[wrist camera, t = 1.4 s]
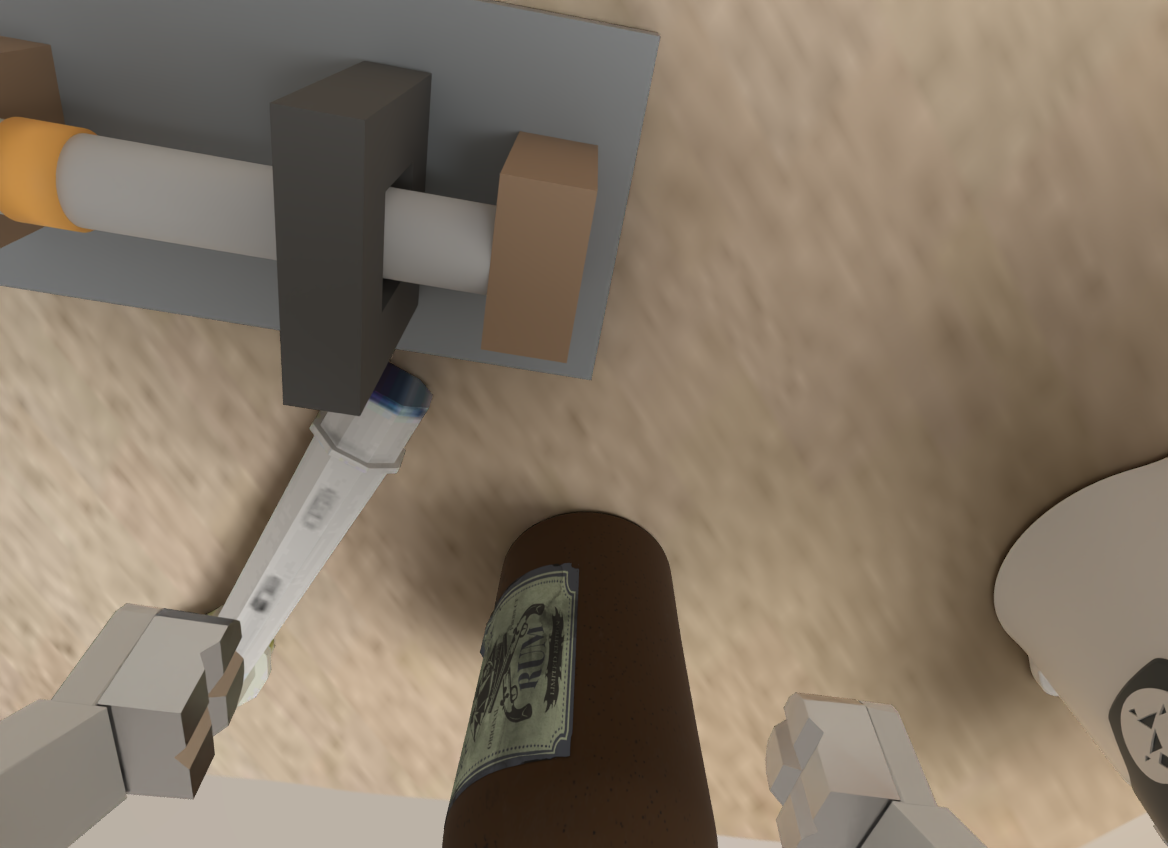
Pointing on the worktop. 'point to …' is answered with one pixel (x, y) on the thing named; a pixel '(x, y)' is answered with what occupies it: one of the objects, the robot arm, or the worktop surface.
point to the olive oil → (582, 701)
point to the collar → (343, 227)
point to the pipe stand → (245, 176)
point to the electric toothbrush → (319, 512)
